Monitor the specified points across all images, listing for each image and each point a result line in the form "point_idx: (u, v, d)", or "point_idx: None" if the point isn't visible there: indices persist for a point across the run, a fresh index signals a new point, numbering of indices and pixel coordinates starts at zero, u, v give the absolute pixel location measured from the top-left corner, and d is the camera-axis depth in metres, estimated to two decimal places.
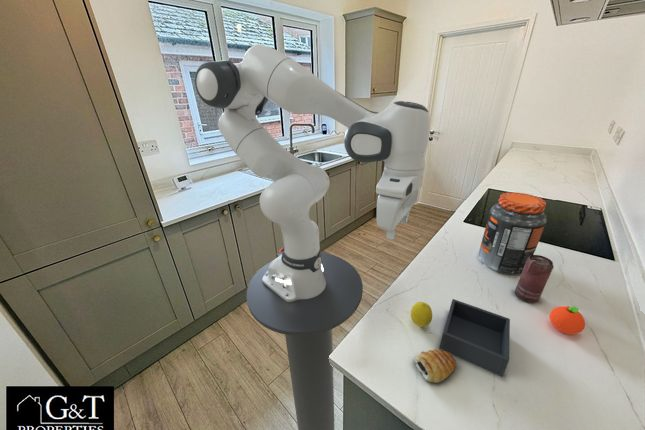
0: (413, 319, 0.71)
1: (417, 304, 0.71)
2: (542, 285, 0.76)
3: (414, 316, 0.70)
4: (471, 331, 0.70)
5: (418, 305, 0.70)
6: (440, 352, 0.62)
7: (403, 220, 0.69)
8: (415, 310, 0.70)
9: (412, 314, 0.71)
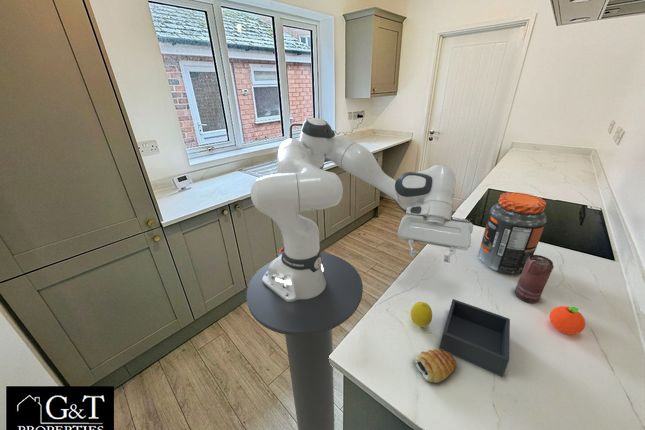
0: (413, 319, 0.71)
1: (417, 304, 0.71)
2: (542, 285, 0.76)
3: (414, 316, 0.70)
4: (471, 331, 0.70)
5: (418, 305, 0.70)
6: (440, 352, 0.62)
7: (444, 259, 0.76)
8: (415, 310, 0.70)
9: (412, 314, 0.71)
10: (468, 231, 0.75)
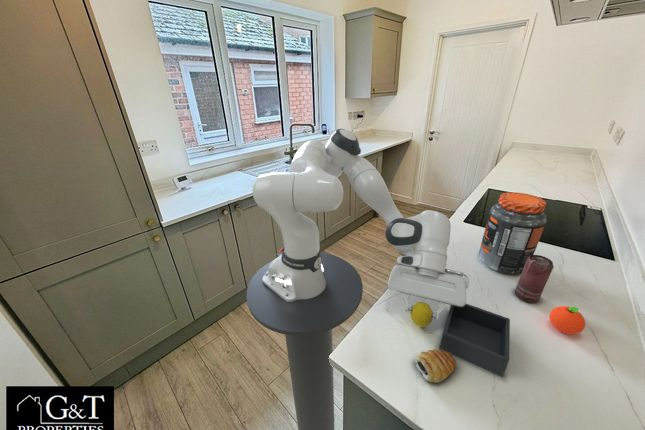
0: (413, 319, 0.71)
1: (417, 304, 0.71)
2: (542, 285, 0.76)
3: (414, 316, 0.70)
4: (471, 331, 0.70)
5: (418, 305, 0.70)
6: (440, 352, 0.62)
7: (432, 315, 0.70)
8: (415, 310, 0.70)
9: (412, 314, 0.71)
10: (463, 287, 0.68)
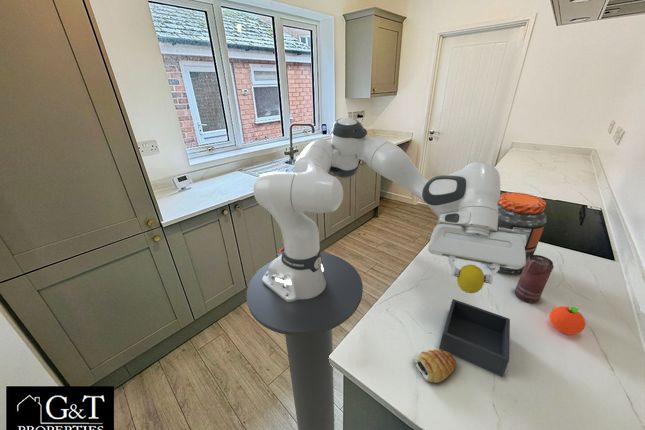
0: (461, 284, 0.61)
1: (466, 267, 0.61)
2: (542, 285, 0.76)
3: (463, 280, 0.60)
4: (471, 331, 0.70)
5: (468, 267, 0.60)
6: (440, 352, 0.62)
7: (484, 279, 0.60)
8: (464, 273, 0.60)
9: (460, 278, 0.61)
10: (522, 245, 0.59)
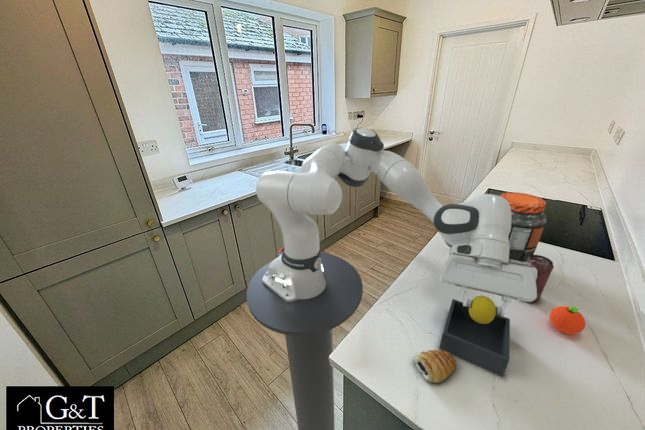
0: (473, 315, 0.63)
1: (478, 298, 0.63)
2: (542, 285, 0.76)
3: (475, 312, 0.62)
4: (471, 331, 0.70)
5: (480, 299, 0.62)
6: (440, 352, 0.62)
7: (496, 311, 0.62)
8: (477, 305, 0.62)
9: (472, 309, 0.63)
10: (533, 279, 0.60)
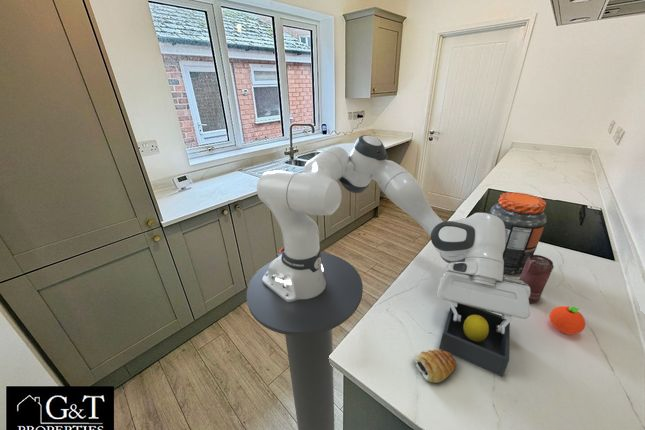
0: (467, 333, 0.65)
1: (472, 317, 0.65)
2: (542, 285, 0.76)
3: (469, 330, 0.65)
4: None
5: (473, 318, 0.65)
6: (440, 352, 0.62)
7: (497, 329, 0.64)
8: (470, 324, 0.65)
9: (466, 328, 0.66)
10: (526, 297, 0.63)
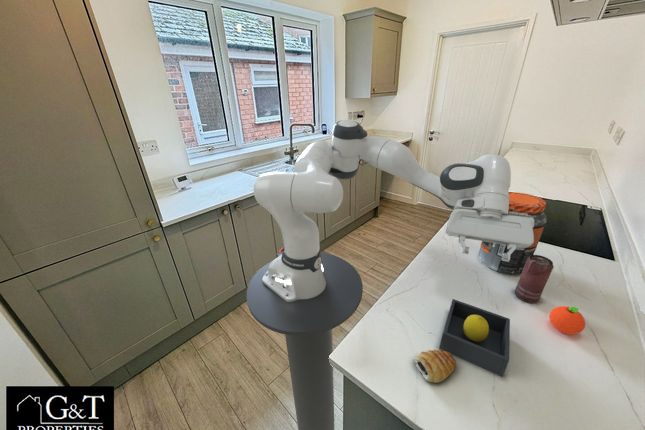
0: (467, 333, 0.65)
1: (472, 317, 0.65)
2: (542, 285, 0.76)
3: (469, 330, 0.65)
4: None
5: (473, 318, 0.65)
6: (440, 352, 0.62)
7: (503, 257, 0.68)
8: (470, 324, 0.65)
9: (466, 328, 0.66)
10: (530, 226, 0.67)
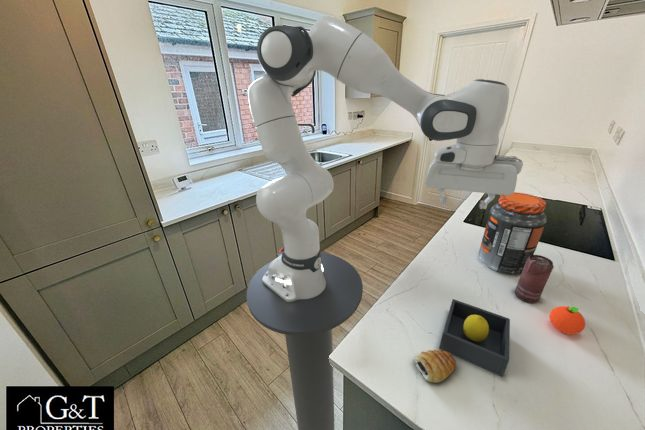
0: (467, 333, 0.65)
1: (472, 317, 0.65)
2: (542, 285, 0.76)
3: (469, 330, 0.65)
4: None
5: (473, 318, 0.65)
6: (440, 352, 0.62)
7: (480, 205, 0.68)
8: (470, 324, 0.65)
9: (466, 328, 0.66)
10: (514, 176, 0.61)
